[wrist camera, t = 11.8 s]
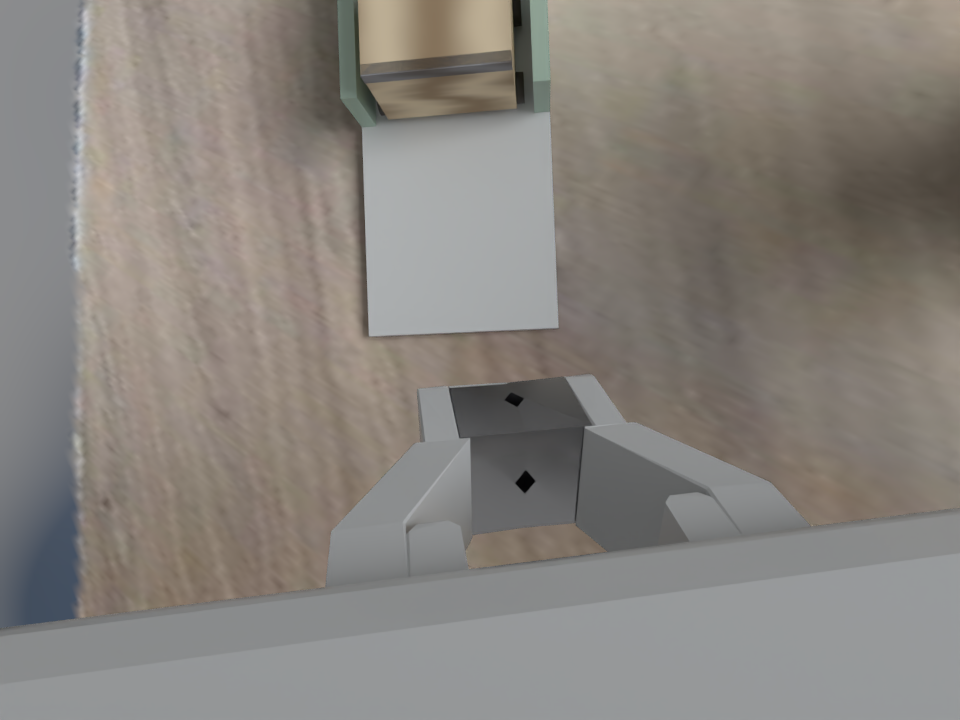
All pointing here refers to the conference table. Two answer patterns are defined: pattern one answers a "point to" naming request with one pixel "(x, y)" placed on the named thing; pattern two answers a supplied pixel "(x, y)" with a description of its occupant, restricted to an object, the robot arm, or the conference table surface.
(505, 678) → the robot arm
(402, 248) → the dock
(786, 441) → the conference table surface
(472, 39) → the wooden cart
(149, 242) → the conference table surface
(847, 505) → the conference table surface
